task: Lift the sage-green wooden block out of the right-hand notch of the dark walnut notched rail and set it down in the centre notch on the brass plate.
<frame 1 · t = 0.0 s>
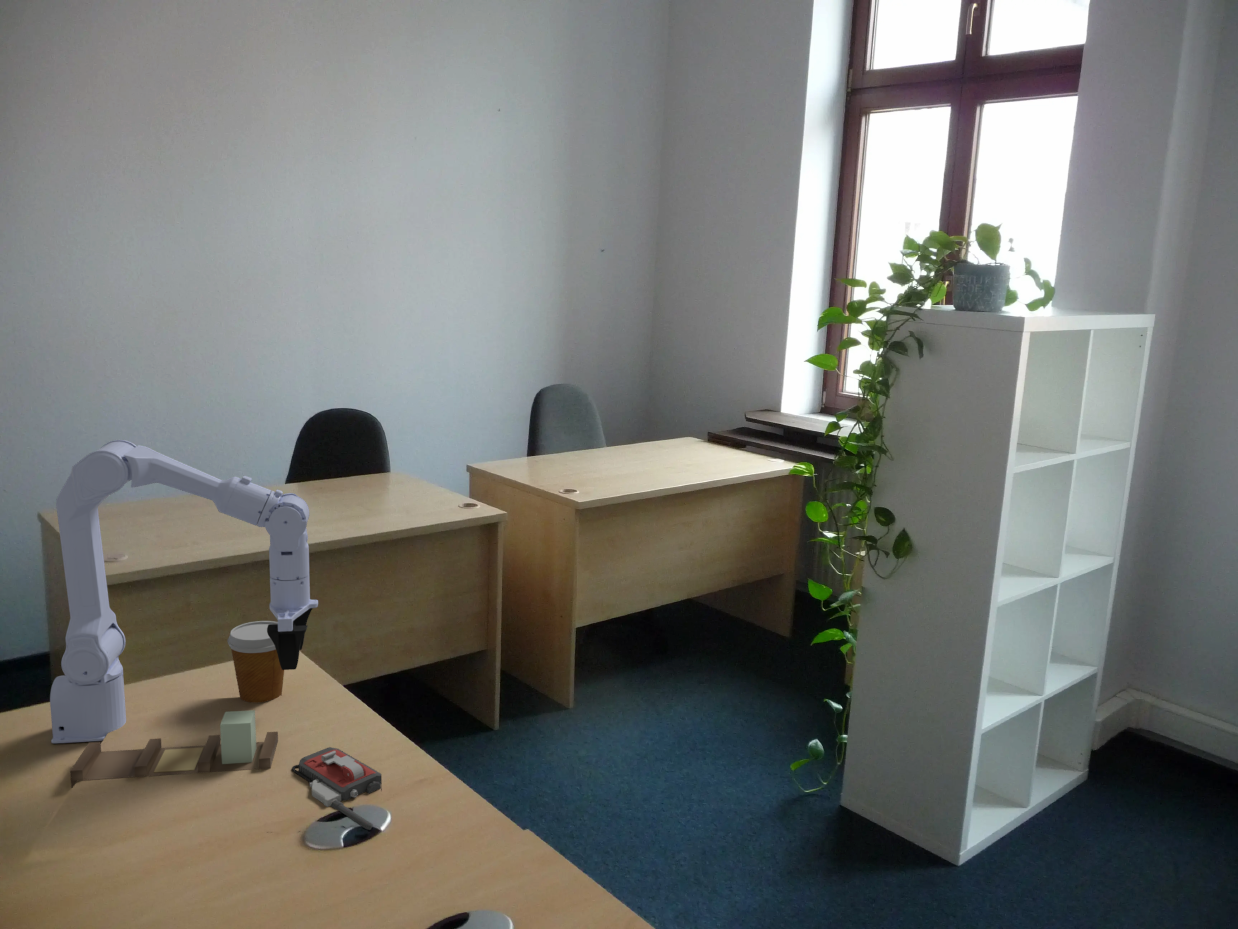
hand: (292, 659, 150), 10 cm above the table, tool pointing down, fingers open, 7 cm apart
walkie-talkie: (347, 799, 132), on the table
sage block: (239, 756, 139), point 1 cm above the table, touching notch rail
disposable coffee cup: (261, 700, 159), on the table
notch rail: (179, 766, 137), on the table
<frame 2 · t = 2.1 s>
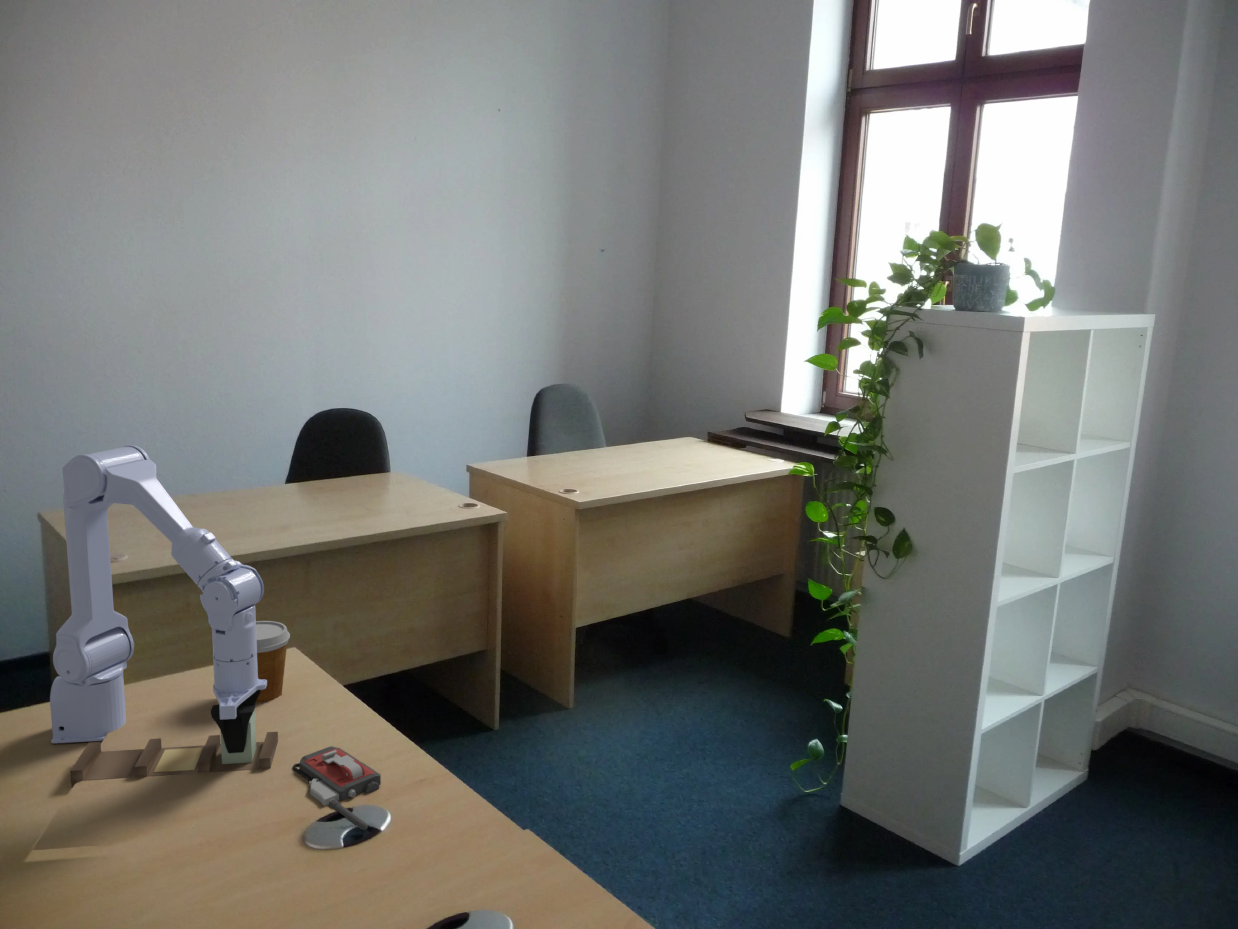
hand: (238, 744, 138), 3 cm above the table, tool pointing down, fingers closed on sage block, 4 cm apart
sage block: (239, 756, 139), point 1 cm above the table, touching gripper, notch rail
everything else where it was.
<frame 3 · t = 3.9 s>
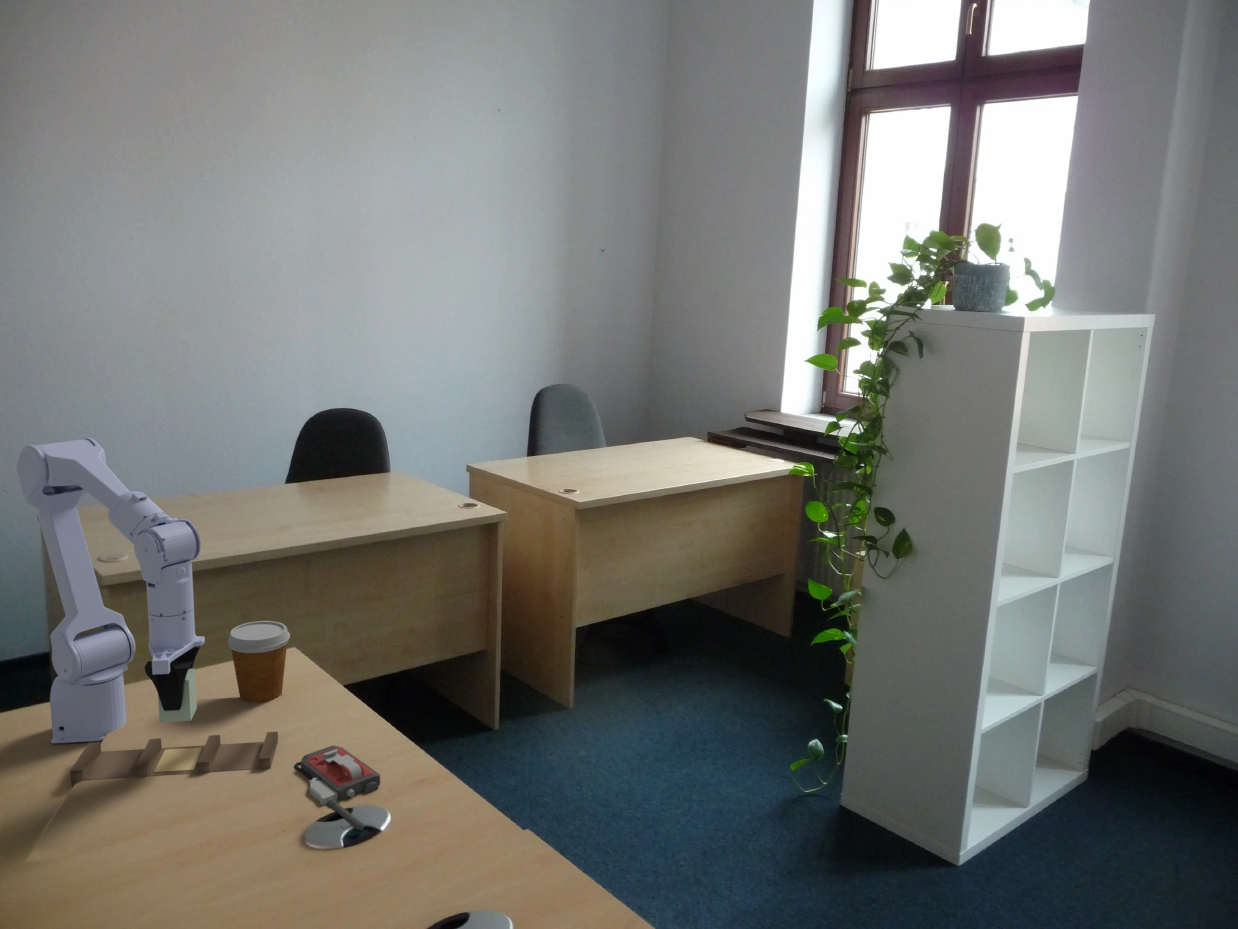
hand: (176, 702, 135), 10 cm above the table, tool pointing down, fingers closed on sage block, 4 cm apart
sage block: (178, 715, 136), point 8 cm above the table, touching gripper
everything else where it was.
when the fingers open (4 cm above the table, at t = 5.2 s): sage block stays where it is, point 2 cm above the table.
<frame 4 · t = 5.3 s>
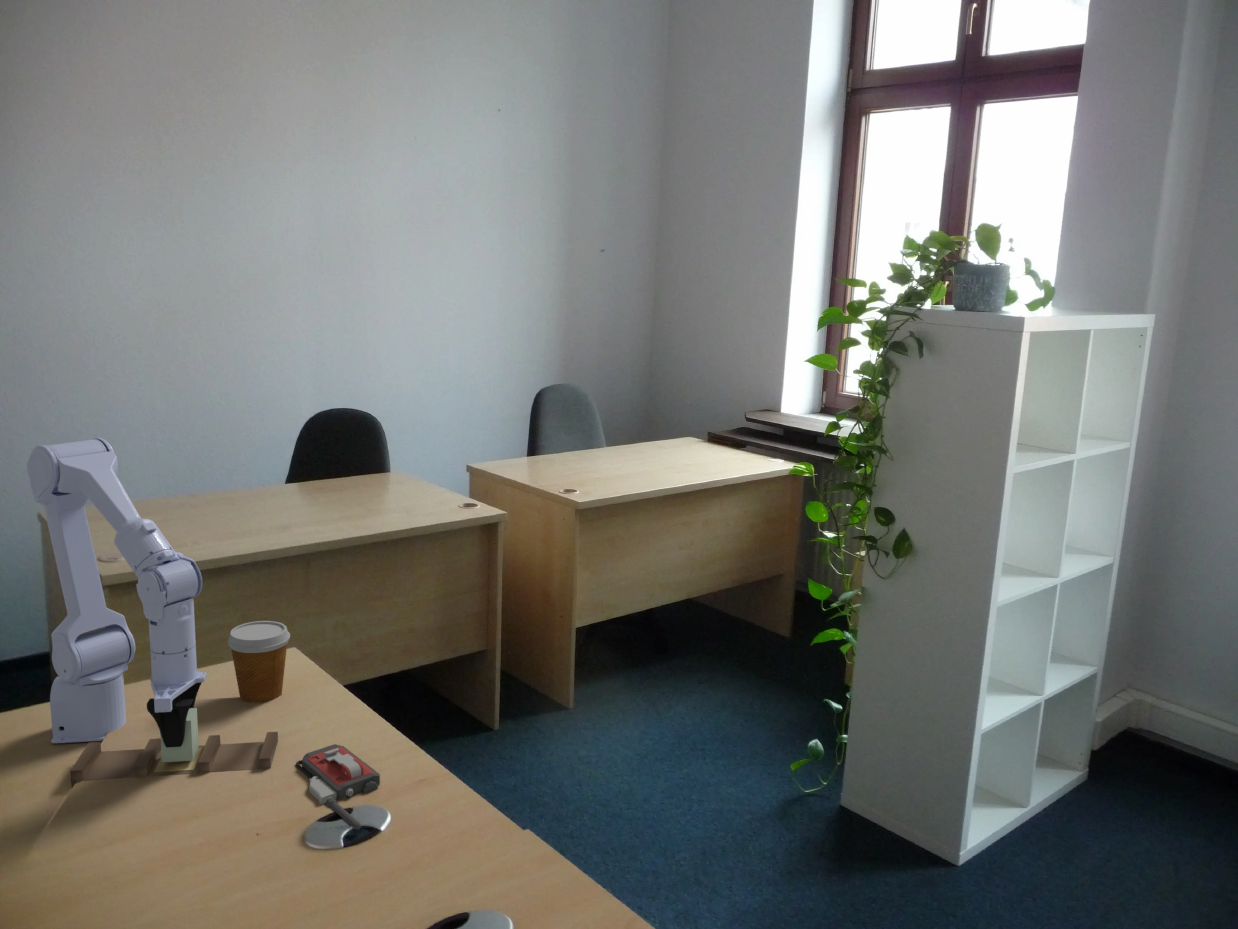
hand: (178, 737, 136), 4 cm above the table, tool pointing down, fingers open, 4 cm apart
sage block: (180, 754, 137), point 2 cm above the table
everything else where it was.
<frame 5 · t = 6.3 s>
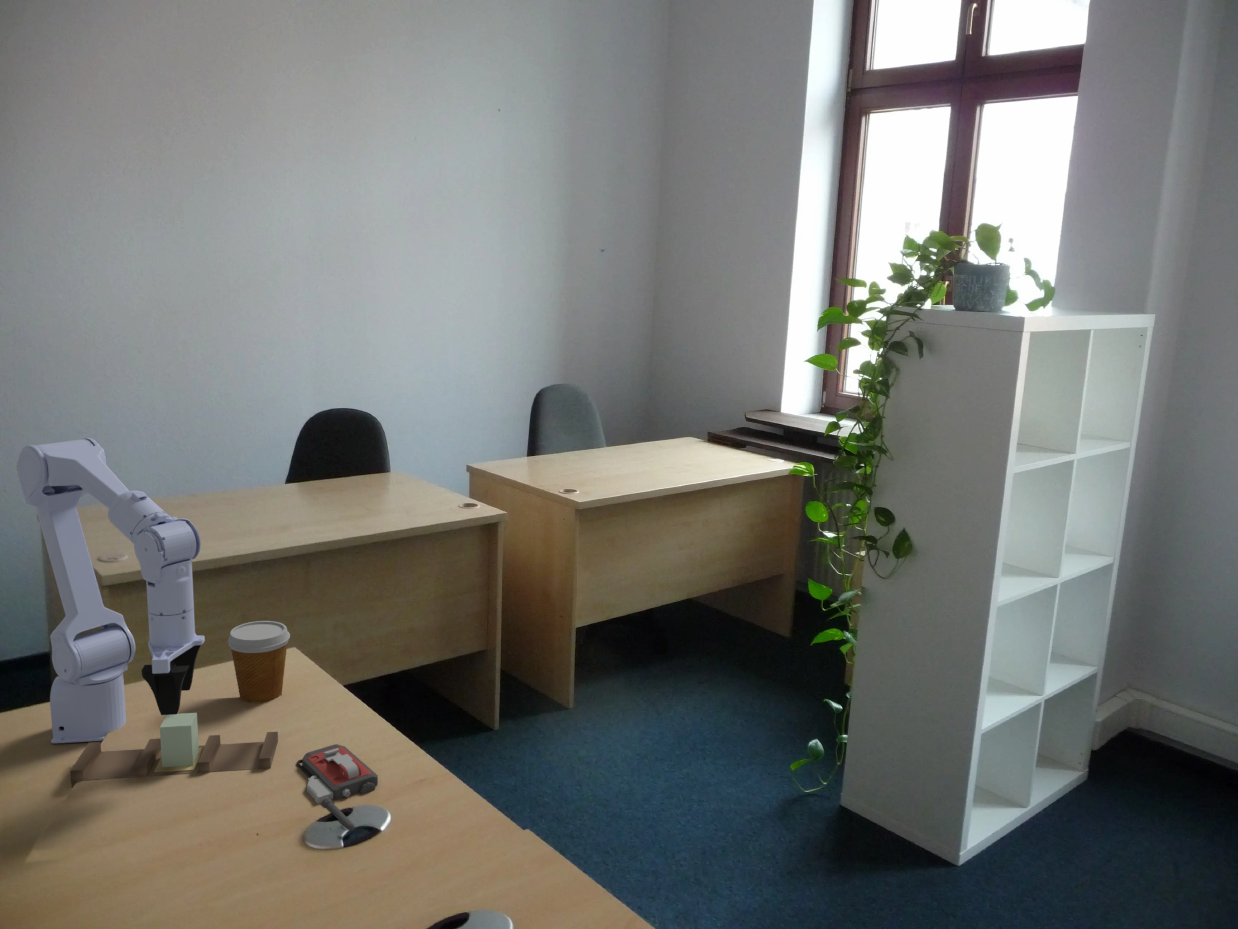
hand: (176, 701, 135), 10 cm above the table, tool pointing down, fingers open, 7 cm apart
sage block: (180, 759, 137), point 1 cm above the table, touching notch rail
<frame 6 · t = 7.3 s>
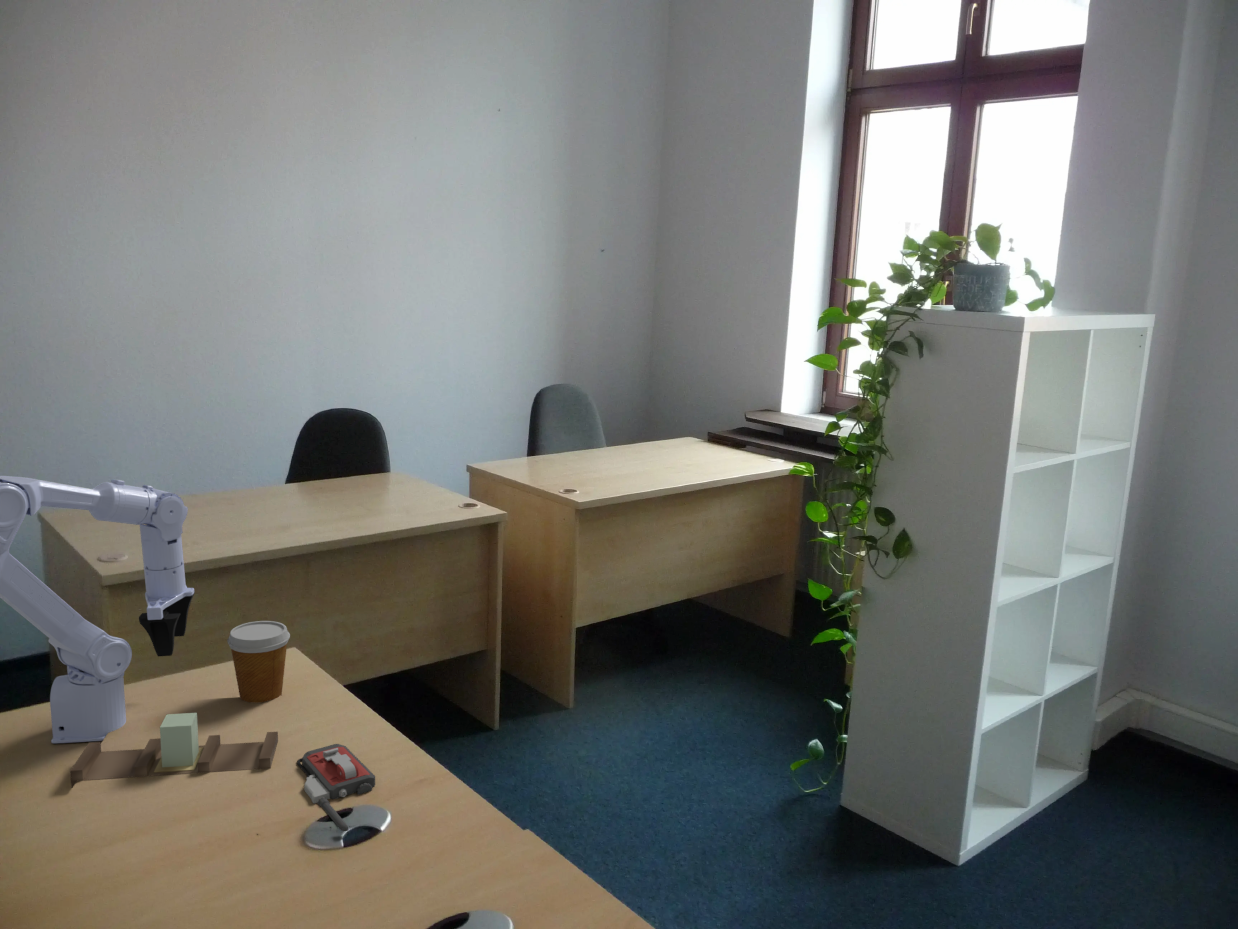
hand: (171, 645, 155), 10 cm above the table, tool pointing down, fingers open, 7 cm apart
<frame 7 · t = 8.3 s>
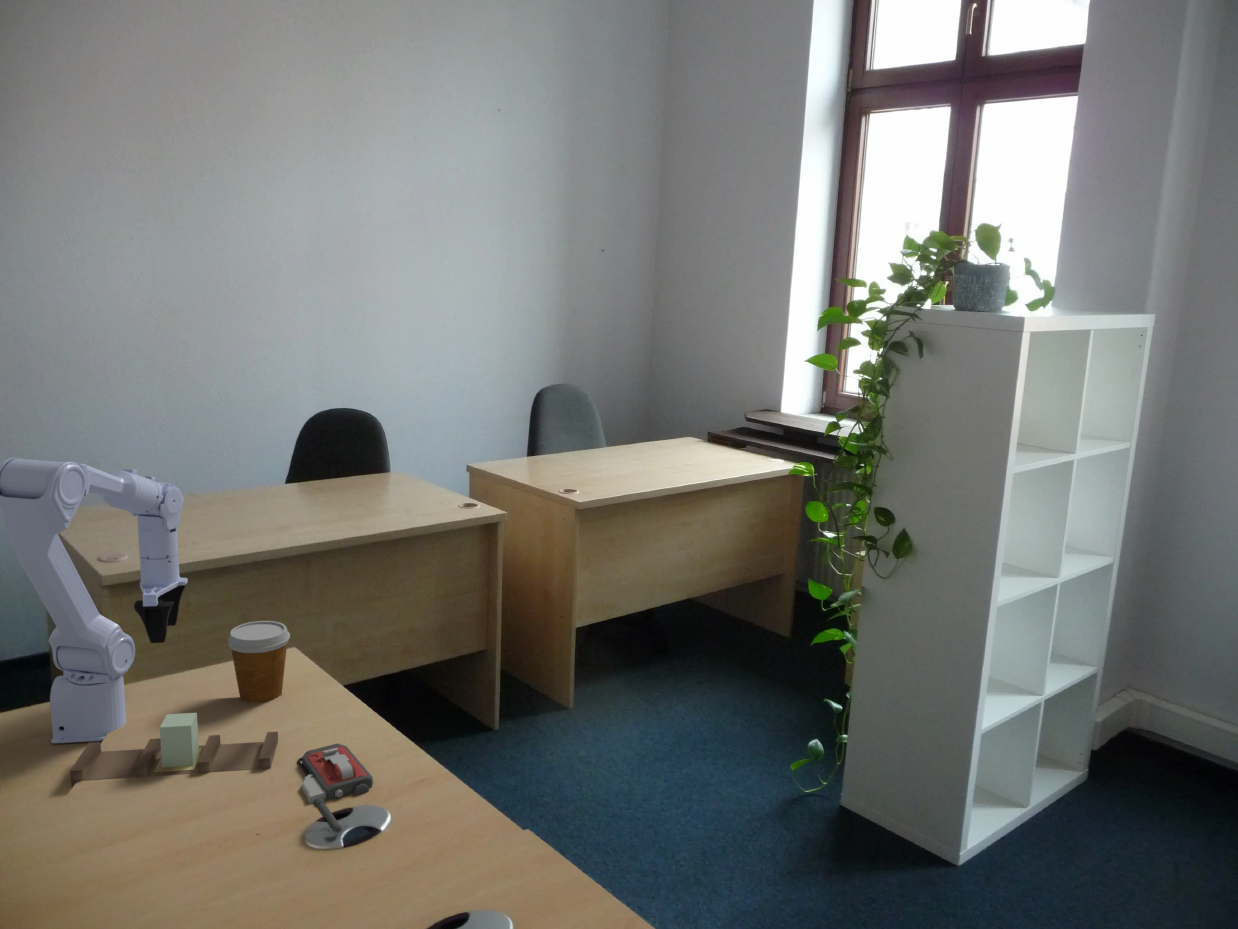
hand: (163, 633, 160), 9 cm above the table, tool pointing down, fingers open, 7 cm apart
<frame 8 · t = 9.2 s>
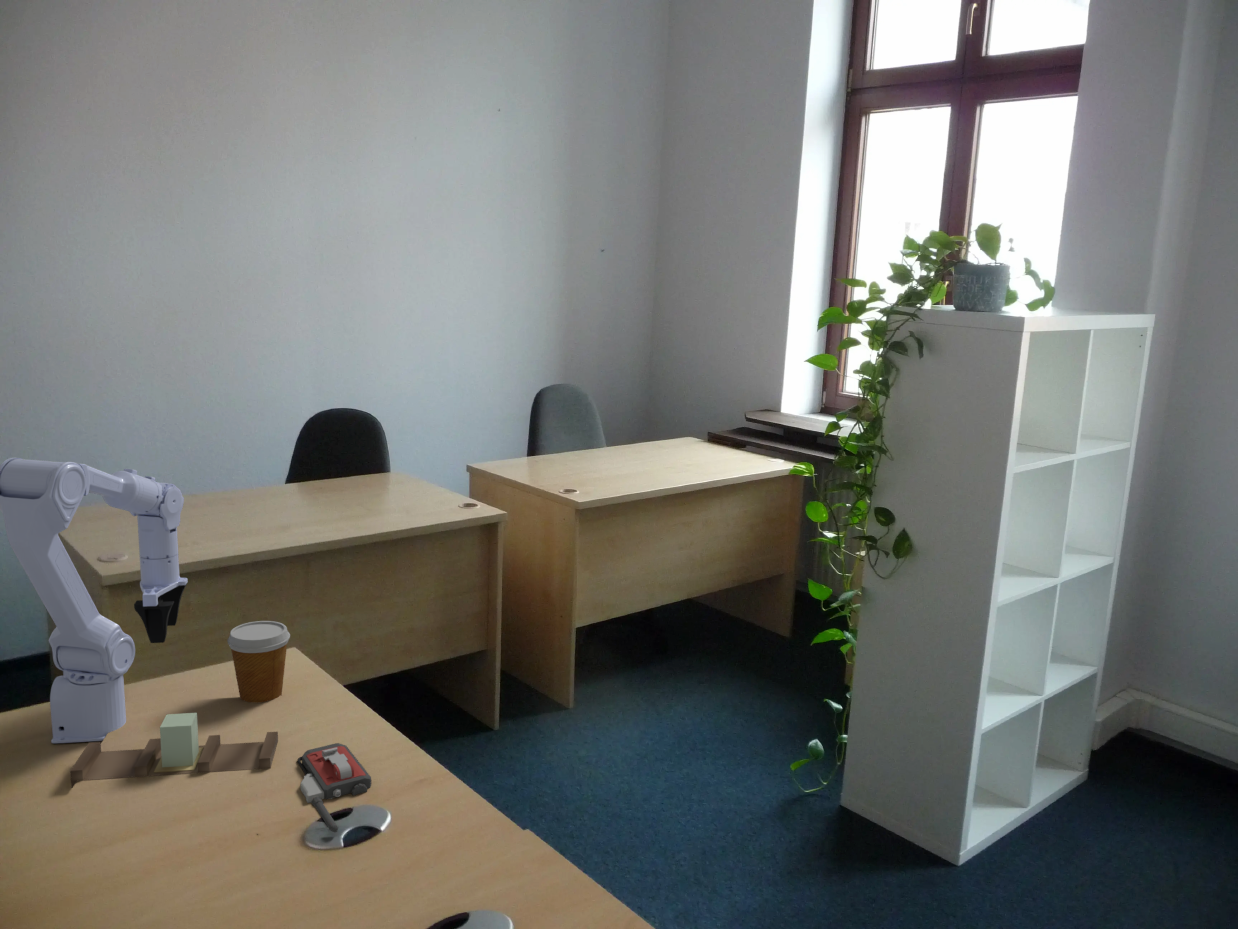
hand: (163, 633, 160), 9 cm above the table, tool pointing down, fingers open, 7 cm apart
at the end: sage block 0.2 cm from the target spot, point 1.1 cm above the table; sage block tilted 0°; the gripper is holding nothing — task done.
